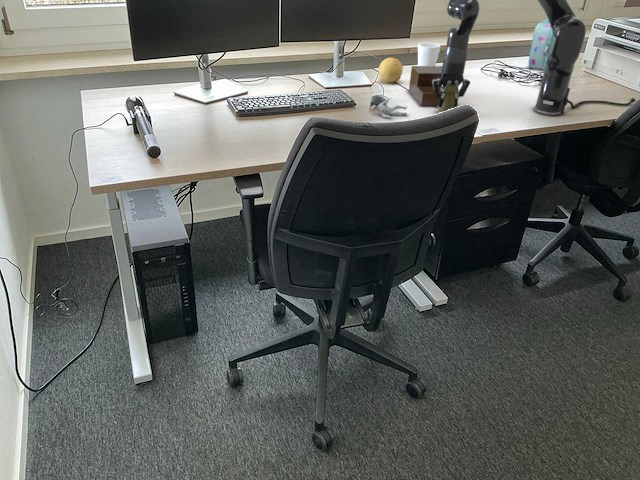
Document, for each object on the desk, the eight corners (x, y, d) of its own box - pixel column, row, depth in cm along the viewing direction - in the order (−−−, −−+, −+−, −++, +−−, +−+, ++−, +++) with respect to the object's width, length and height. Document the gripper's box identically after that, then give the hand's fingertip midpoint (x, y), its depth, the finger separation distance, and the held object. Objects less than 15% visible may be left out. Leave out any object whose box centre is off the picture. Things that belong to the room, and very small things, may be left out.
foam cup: (420, 71, 242) (424, 41, 235) (439, 75, 238) (444, 44, 231) (410, 75, 236) (414, 44, 228) (429, 80, 231) (434, 48, 224)
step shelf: (456, 106, 204) (461, 79, 199) (420, 106, 202) (424, 79, 197) (442, 91, 219) (446, 66, 213) (408, 91, 217) (411, 66, 212)
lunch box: (546, 74, 246) (559, 24, 234) (523, 69, 250) (535, 20, 238) (560, 61, 265) (572, 15, 253) (538, 58, 269) (550, 12, 257)
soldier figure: (407, 121, 191) (377, 112, 187) (399, 126, 196) (370, 118, 191) (408, 101, 193) (378, 92, 189) (400, 107, 198) (371, 98, 193)
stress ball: (390, 86, 221) (392, 62, 216) (372, 81, 227) (374, 56, 222) (406, 82, 227) (409, 58, 221) (388, 77, 233) (391, 53, 227)
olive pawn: (456, 113, 197) (461, 83, 191) (450, 117, 193) (455, 87, 187) (441, 109, 200) (445, 80, 194) (434, 114, 196) (439, 83, 190)
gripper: (470, 56, 190) (461, 104, 199) (431, 56, 188) (424, 104, 198) (478, 62, 184) (469, 111, 193) (438, 62, 182) (430, 111, 191)
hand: (446, 107), depth 195 cm, fingers closed on olive pawn, 3 cm apart
